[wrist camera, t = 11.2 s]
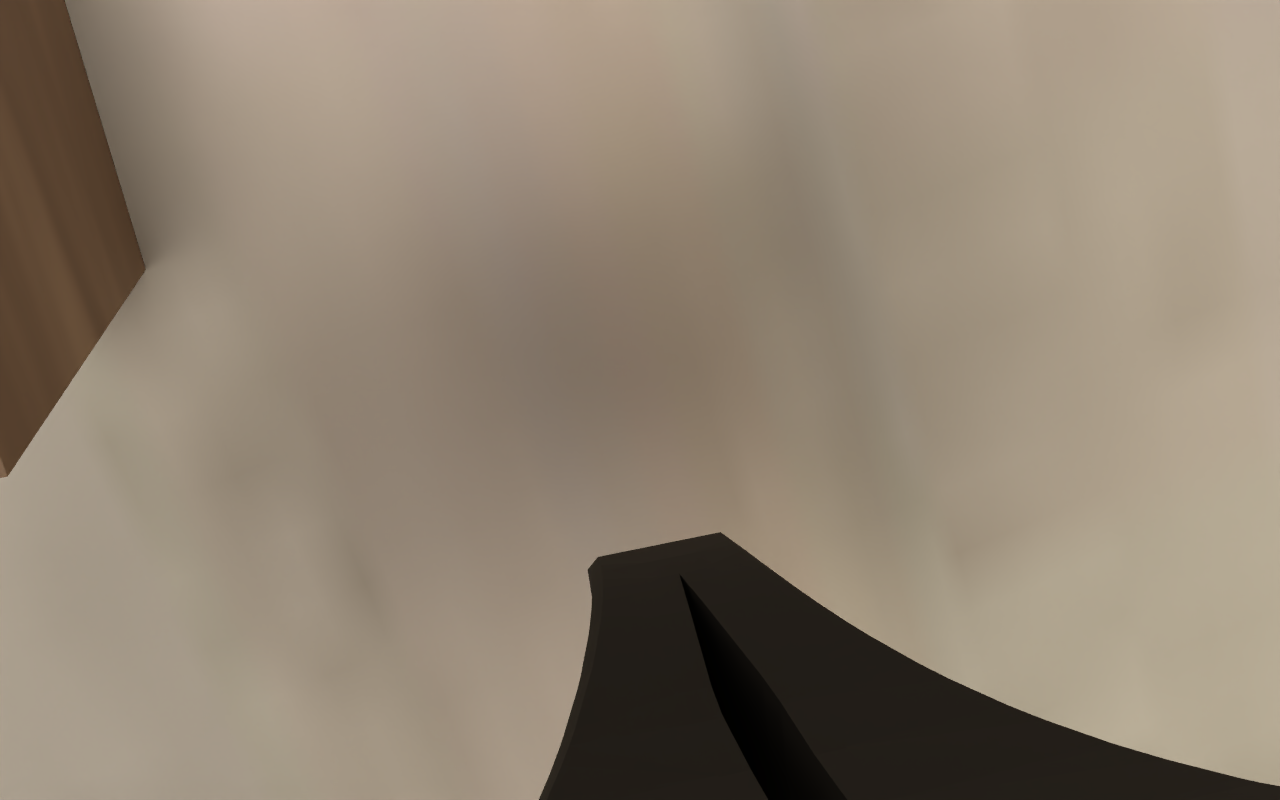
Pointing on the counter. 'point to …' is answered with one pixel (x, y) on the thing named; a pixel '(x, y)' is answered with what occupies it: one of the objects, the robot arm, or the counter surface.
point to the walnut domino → (52, 220)
